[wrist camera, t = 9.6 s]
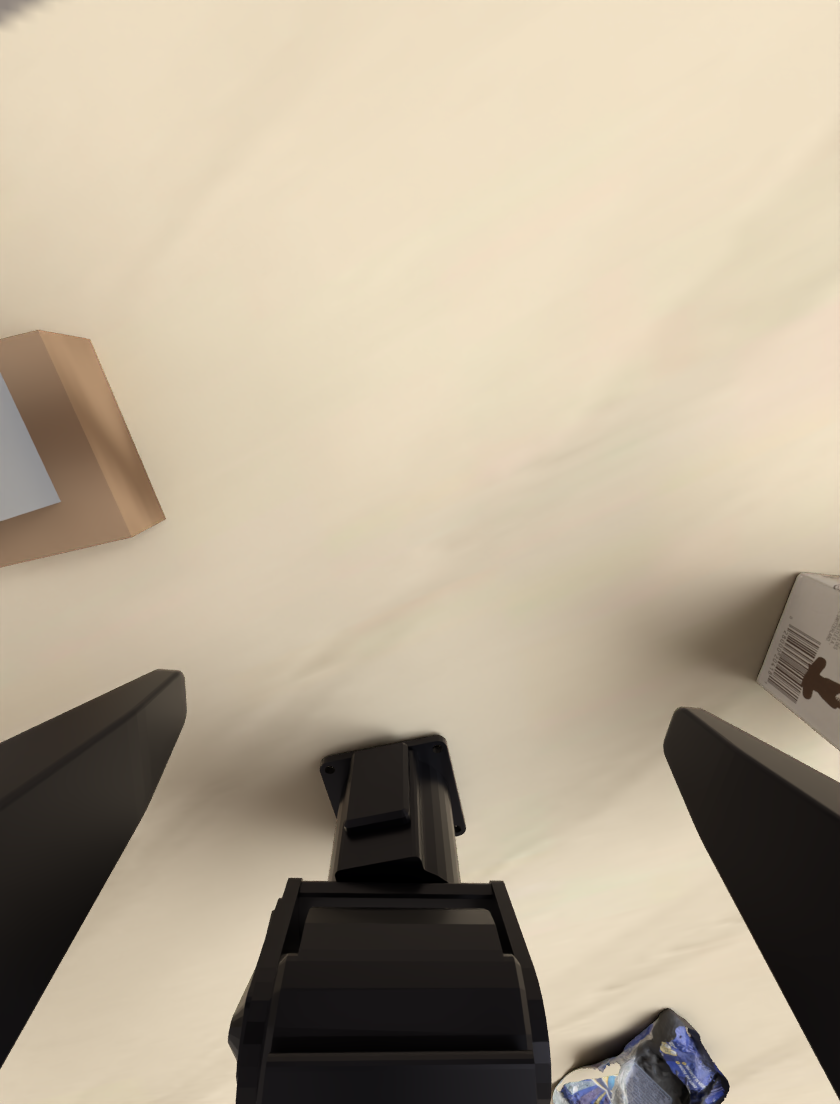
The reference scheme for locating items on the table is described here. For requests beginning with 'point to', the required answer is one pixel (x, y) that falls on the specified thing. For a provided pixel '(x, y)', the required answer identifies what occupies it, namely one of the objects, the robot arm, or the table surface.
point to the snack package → (654, 1070)
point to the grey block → (20, 464)
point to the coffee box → (808, 655)
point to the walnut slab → (73, 450)
